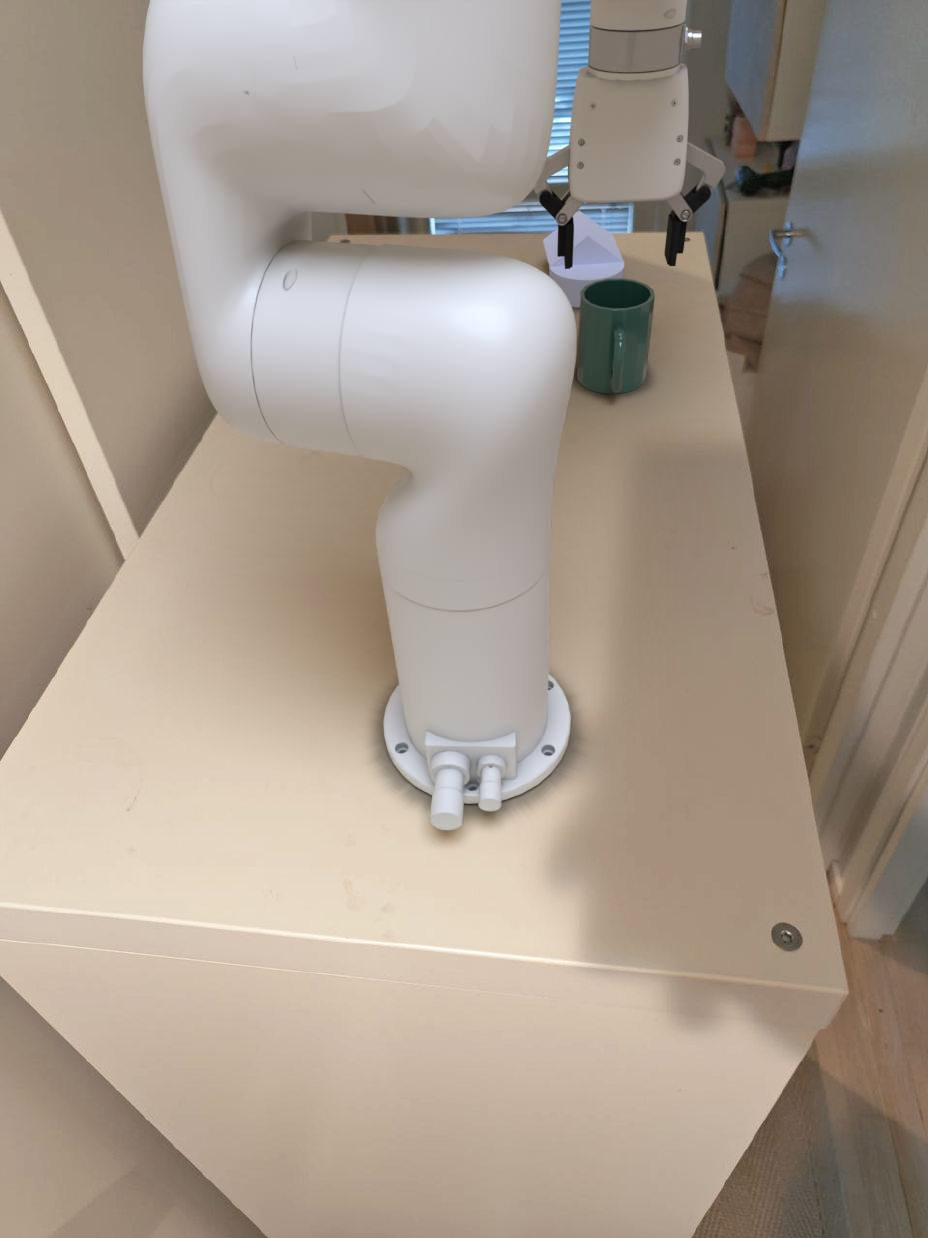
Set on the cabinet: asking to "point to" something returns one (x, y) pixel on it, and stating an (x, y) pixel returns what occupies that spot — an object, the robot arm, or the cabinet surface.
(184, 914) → the cabinet surface
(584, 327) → the mug
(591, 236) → the wedge on round base
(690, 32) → the robot arm
